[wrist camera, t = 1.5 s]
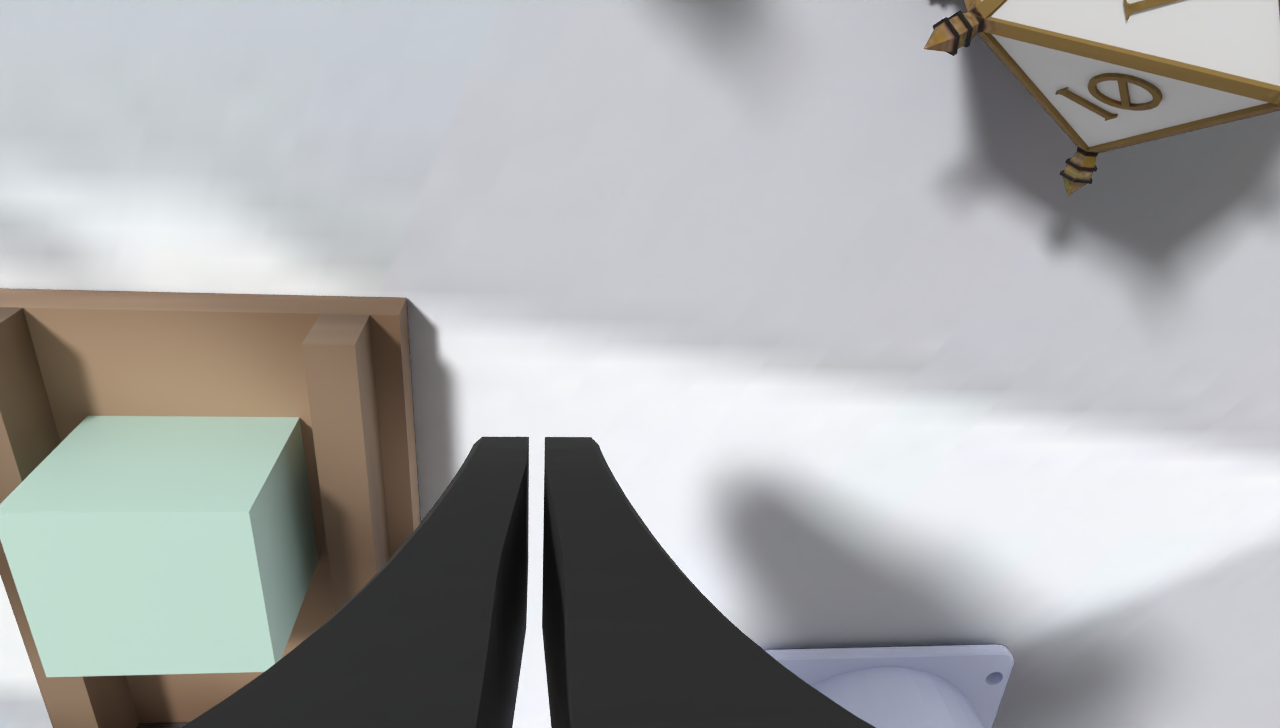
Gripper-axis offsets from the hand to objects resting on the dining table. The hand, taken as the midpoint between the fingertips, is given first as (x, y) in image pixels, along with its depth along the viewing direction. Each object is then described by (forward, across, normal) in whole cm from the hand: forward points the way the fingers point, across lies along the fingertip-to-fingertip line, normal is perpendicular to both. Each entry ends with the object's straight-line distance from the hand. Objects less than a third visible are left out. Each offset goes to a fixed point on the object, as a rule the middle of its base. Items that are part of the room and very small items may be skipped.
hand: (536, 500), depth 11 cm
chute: (+8, +8, +7) cm, 13 cm away
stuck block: (+7, +8, +5) cm, 12 cm away
